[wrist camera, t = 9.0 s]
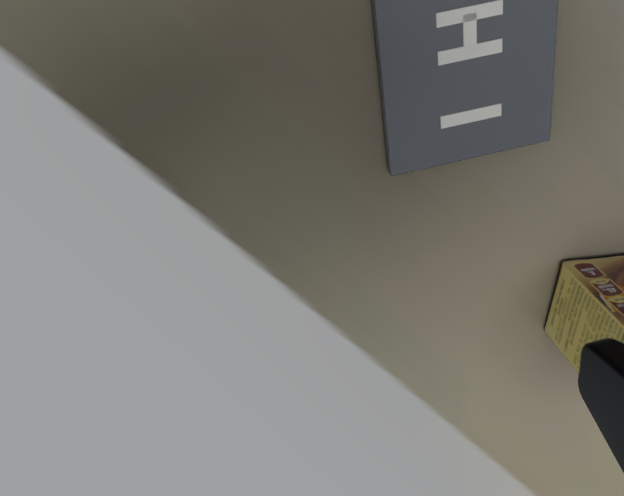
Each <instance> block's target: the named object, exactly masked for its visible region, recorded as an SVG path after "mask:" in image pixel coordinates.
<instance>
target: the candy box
mask: <svg viewBox="0 0 624 496" xmlns="http://www.w3.org/2000/svg"><path fill="white" fill-rule="evenodd" d="M545 332H546V333H547V335H548V336H549V337H550V338H551V340H552V341H553V342H554V343H555V345H556V346H557V347H558V349H559V350H560V351H561V352H562V353H563V355H564V356H565V357H566V358H567V360H568V361H569V362H570V363H571V365H572V366H573V367H574V368H575V370H576V371H577V372H578V373H579V368H580V359H581V351H582V348H583V346H584V345H585V344H586V343H589V342H593V341H597V340H601V339H605V338H612V339H615V340H618V341H620V342H622V343H624V255H623V256H614V257H606V258H596V259H586V260H584V259H576V260H566V261H563V262H562V266H561V269H560V274H559V278H558V283H557V286H556V290H555V294H554V297H553V301H552V304H551V308H550V312H549V315H548V319H547V323H546V326H545Z"/></svg>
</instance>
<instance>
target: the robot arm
mask: <svg viewBox="0 0 624 496" xmlns="http://www.w3.org/2000/svg"><path fill="white" fill-rule="evenodd" d="M578 386H579V391H580V393H581V396H582V398H583V400H584V402H585V403H586V405H587V407H588V409H589V411H590V413H591V414H592V416H593V418H594V420H595V422H596V423H597V425H598V427H599V429H600V431H601V433H602V434H603V436H604V438H605V440H606V442H607V443H608V445H609V447H610V449H611V451H612V453H613V454H614V456H615V458H616V460H617V462H618V463H619V465H620V467H621V469H622V471H623V472H624V343H622V342H620V341H618V340H615V339H612V338H605V339H601V340H597V341H593V342H589V343H586V344H585V345H584V346H583V348H582V351H581V359H580V368H579V377H578Z"/></svg>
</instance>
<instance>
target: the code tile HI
mask: <svg viewBox="0 0 624 496" xmlns="http://www.w3.org/2000/svg"><path fill="white" fill-rule="evenodd" d="M372 9H373V19H374V30H375V40H376V50H377V60H378V71H379V81H380V91H381V102H382V112H383V122H384V133H385V143H386V153H387V163H388V172H389V173H390V175H391V176H394V175H398V174H402V173H407V172H411V171H416V170H420V169H425V168H429V167H433V166H438V165H442V164H447V163H451V162H456V161H460V160H464V159H469V158H473V157H478V156H482V155H487V154H491V153H495V152H500V151H504V150H509V149H513V148H518V147H522V146H526V145H531V144H535V143H540V142H544V141H549V140H550V126H551V109H552V93H553V77H554V60H555V44H556V28H557V12H558V0H372Z"/></svg>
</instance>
